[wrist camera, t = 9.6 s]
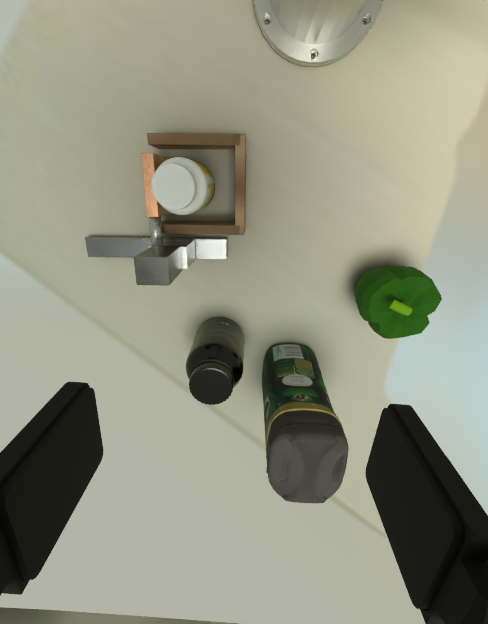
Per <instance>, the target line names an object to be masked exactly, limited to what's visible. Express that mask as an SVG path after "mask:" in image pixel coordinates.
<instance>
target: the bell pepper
mask: <svg viewBox="0 0 488 624" xmlns="http://www.w3.org/2000/svg"><path fill="white" fill-rule="evenodd" d="M355 299H356V303H357V306H358V309H359V312H360V315H361V316H362V317H363V319H364V320H366V321H368V322H369V325H370V326H371V328H372V329H373V330H374V332H376V333H377V334H379V335H380V336H382V337H383V338H389V339H391V338H400V337H406V336H410V335H414V334H419V333H422V331H423V330H424V329H425V328H426V327H427V325H428V324H429V320H428V317H427V315H429V314H430V313H432V312H434V311H435V310H436V308H437V306H438V305H439V303H440V301H441V300H442V299H441V295H440V293H439V291H438V290H437V288H436V286H435V284H434V283H433V281H432V279H430V278H429V277H428V276H427V275H425V274H424V273H423V272H421V271H419V270H417V269H415V268H413V267H405V266H385V267H384V268H374V269H372V270H370V271H367V272H365V273H364V274H363V275H362V277H361V278H360V279H359V280H358V281H357V284H356V288H355Z"/></svg>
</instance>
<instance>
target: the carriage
mask: <svg viewBox="0 0 488 624" xmlns="http://www.w3.org/2000/svg"><path fill="white" fill-rule="evenodd" d="M141 160H142V171H143V181H144V191H145V201H146V212H147V217H149V221H150V231H151V242H152V245H150V246H149V248H148V249H146V250H145V251H143V252H141V253H139V254H138V255H136V256H134V265H135V273H136V282H137V285H170V284H171V283H172V282H173V281H174V279H175V278H176V277H177V276H178V275H179V274H180V272H181V271H182V270H183V269H188V268H189V266H190V265H191V264H192V263H193V262H194V260H195V242H194V240H181V239H162V227H161V216H162V215H166V214H169V213H171V212H169V211H167V210H166V209H165V208H164V207H163V206H162V205H161V204H160V203H159V202H158V201H157V200H156V198H155V197H154V194H153V191H152V178H153V175H154V173H155V171H156V170H157V169H158V167H159V166H160V165H161V164H162V163H163V162H164V161H166V160H168V159H167V158H165V157H163V156H160V155H157V154H154V153H141Z"/></svg>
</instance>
